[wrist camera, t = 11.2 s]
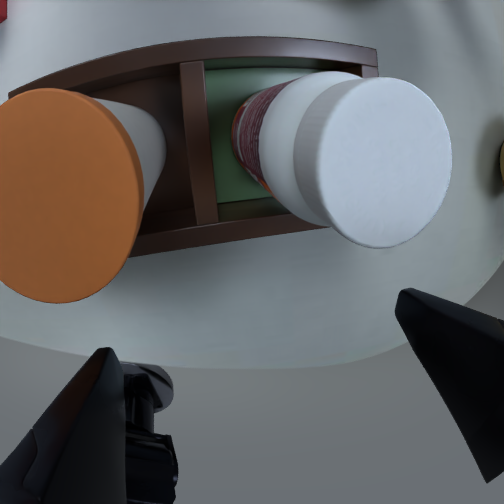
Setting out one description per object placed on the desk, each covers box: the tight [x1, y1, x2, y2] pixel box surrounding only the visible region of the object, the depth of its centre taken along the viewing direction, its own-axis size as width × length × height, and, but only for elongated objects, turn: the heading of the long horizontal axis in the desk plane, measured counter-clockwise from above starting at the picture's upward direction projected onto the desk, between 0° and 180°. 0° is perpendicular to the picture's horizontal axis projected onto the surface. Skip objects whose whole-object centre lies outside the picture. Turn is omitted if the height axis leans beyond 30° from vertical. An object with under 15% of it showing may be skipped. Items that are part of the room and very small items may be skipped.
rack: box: [8, 36, 379, 258], centre depth 15 cm, size 11×21×4 cm, turn 94°
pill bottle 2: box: [231, 71, 452, 248], centre depth 12 cm, size 6×6×11 cm
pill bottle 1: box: [0, 88, 167, 304], centre depth 11 cm, size 6×6×11 cm
